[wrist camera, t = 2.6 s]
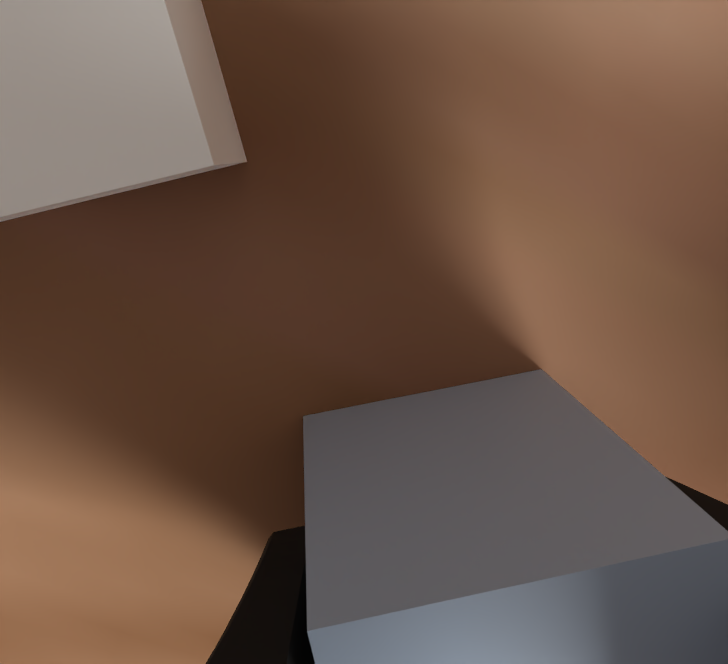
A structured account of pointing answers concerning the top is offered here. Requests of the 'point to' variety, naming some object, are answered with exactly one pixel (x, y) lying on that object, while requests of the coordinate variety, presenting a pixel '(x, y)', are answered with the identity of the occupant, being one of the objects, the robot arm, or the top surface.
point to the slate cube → (502, 536)
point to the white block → (107, 100)
